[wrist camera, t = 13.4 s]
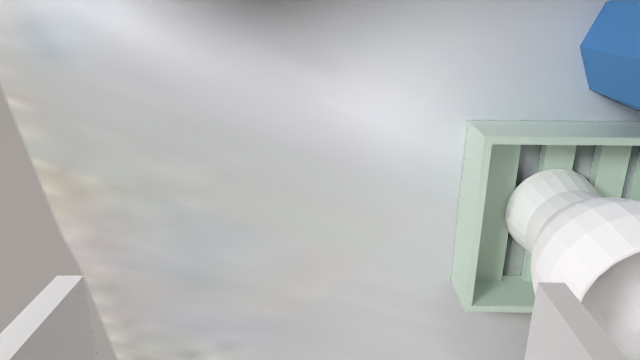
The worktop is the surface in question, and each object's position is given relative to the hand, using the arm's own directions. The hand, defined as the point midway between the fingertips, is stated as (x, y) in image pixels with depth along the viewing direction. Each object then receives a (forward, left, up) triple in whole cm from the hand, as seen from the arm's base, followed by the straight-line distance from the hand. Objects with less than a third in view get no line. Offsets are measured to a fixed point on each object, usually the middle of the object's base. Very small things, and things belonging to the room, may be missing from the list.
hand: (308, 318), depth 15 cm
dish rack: (+9, +20, -29) cm, 36 cm away
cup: (+9, +20, -28) cm, 35 cm away
